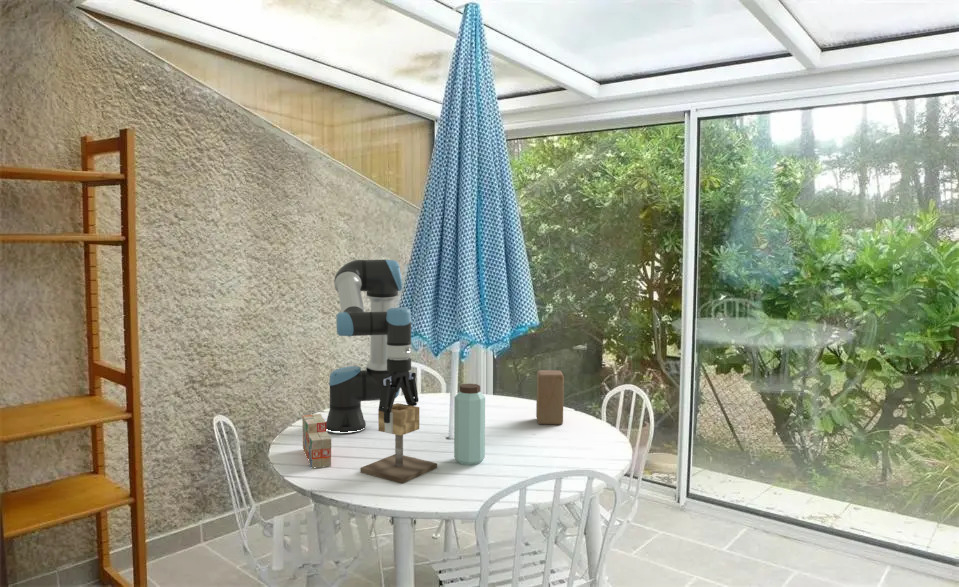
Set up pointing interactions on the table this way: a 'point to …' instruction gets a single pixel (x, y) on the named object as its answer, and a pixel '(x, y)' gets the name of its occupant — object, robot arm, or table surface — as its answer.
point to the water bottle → (469, 425)
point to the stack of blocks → (316, 440)
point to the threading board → (398, 472)
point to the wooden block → (550, 397)
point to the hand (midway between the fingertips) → (399, 429)
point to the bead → (401, 419)
